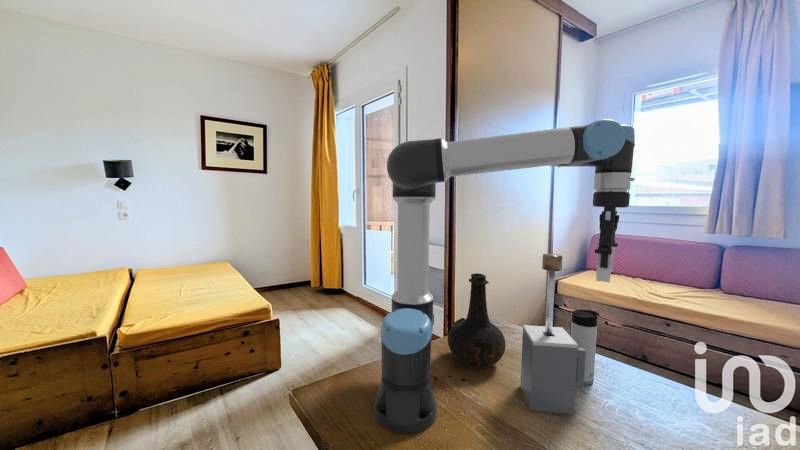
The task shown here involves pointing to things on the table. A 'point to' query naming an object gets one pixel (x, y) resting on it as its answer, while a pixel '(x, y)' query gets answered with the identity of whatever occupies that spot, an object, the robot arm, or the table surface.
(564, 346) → the press
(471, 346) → the glass bottle
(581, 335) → the travel mug
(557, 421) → the table surface
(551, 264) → the plunger
